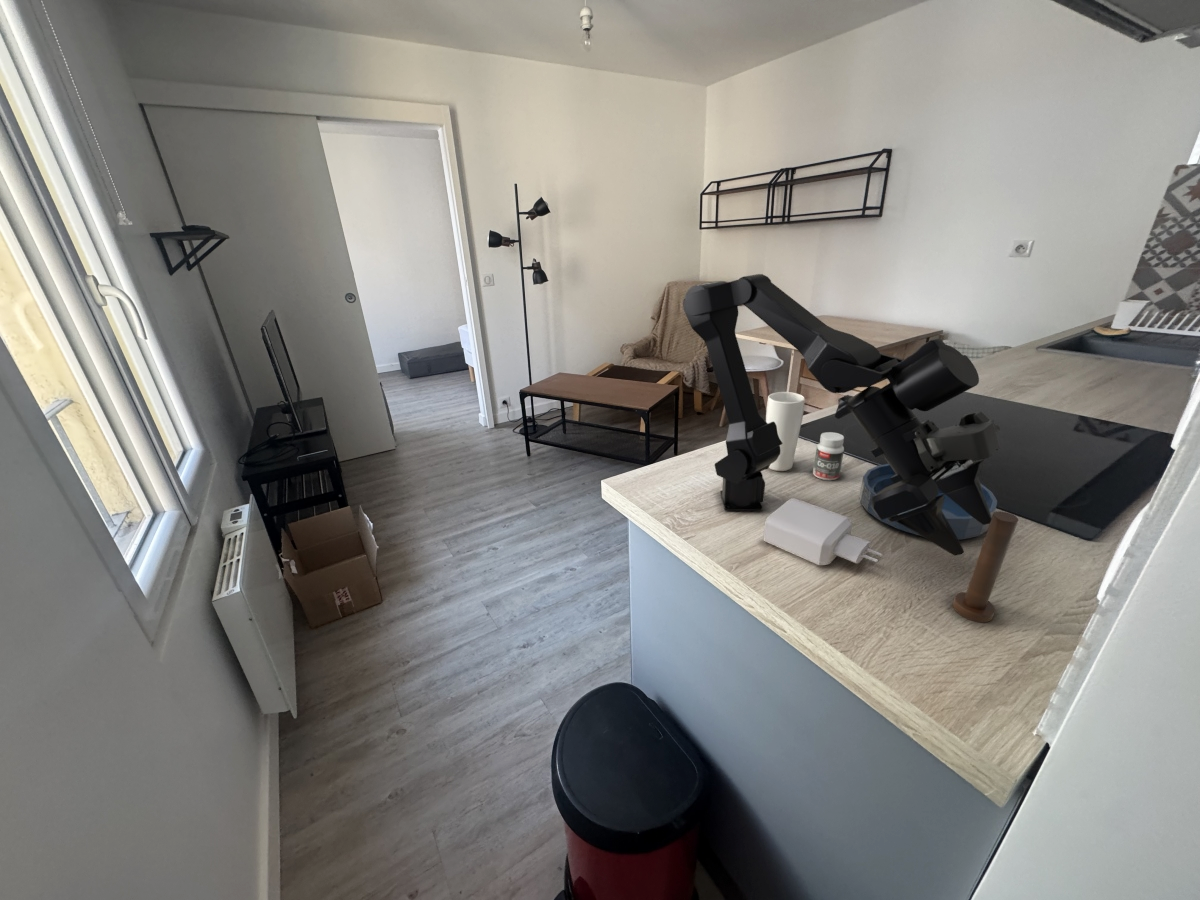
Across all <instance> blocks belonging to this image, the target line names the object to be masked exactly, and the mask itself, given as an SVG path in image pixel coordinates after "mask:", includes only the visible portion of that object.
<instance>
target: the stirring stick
mask: <svg viewBox="0 0 1200 900" xmlns="http://www.w3.org/2000/svg"><path fill="white" fill-rule="evenodd" d="M1018 522H1019V518H1018V517H1017V515H1015V514H1012V513H1010V512H1006V511H1000V510H999V511H995V512H994V513H993V516H992V519H991V522H990V525H989V528H988V530H987V531H986V534H985V537H984V539H983V543H982V544H981V549H980V552H979V554H978V557H977V560H976V563H975V566H974V569H973V572H972V574H971V577H970V581H969V583H968V586H967V589H966V591H964V592H958V593H957V594H955V596H954V598H953V602H952V607H953V609H954V610H955V612H956V613H957V614H959V615H960V616H961V617H963V618H964V619H967V620H969V621H972V622H976V623H988V622H990V621H992V619H993V617H994V615H995V613H996V608H995V606H994V604H993V603H992V602H991V601H990V598H991V594H992V592H993V589H994V587H995V584H996V581H997V579H998V576H999V573H1000V571H1001V568H1002V565H1003V562H1004V560H1005V557H1006V554H1007V551H1008V549H1009V547H1010V544H1011V541H1012V538H1013V535H1014V533H1015V531H1016V528H1017V526H1018Z"/></svg>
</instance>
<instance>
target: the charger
mask: <svg viewBox="0 0 1200 900" xmlns="http://www.w3.org/2000/svg"><path fill="white" fill-rule="evenodd" d="M853 525H854V524H853V522H852V520H851V519H850V518H849V516H846V515H844V514H840V513H838V512H834V511H831V510H829V509H826V508H824V507H821V506H818V505H815V504H812V503H809V502H807V501H803V500H800V499H798V498H795V497H791V498H789V499H788V500H787V501H786V502H784V503H783V504H782V505H781V506H779V507H778V508H776V510H774V511H773V512H771V514H770V515H768V516H767V517H766V519H765V521H764V531H763V541H764V542H765V543H767V544H769V545H772V546H774V547H777V548H778V549H781V550H783V551H786V552H788V553H790V554H793V555H794V556H797V557H799V558H801V559H804V560H806V561H808V562H811V563H813V564H815V565H817V566H826V565H830V564H831V563H832V562H833V561H834V560H835V559H836V558H837V557H840V558H841V559H845V560H847V561H849V562H851V563H854V564H860V563H861V561H862V560H863V559H866V560H869V561H871V562H873V563H878V562H879V559H877V558H875V557H872V556H870V555H867V554H868V553H870V554H872V555H875V556H878V557H880V558H881V557H882V558H883V556H884V555H883V553H882V552H879V551H876V550H873V549H871V546H872V542H871V541H869V540H866V539H864V538H861V537H858V536H855V535H854V534H852V531H853Z"/></svg>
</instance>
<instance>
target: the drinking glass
mask: <svg viewBox="0 0 1200 900" xmlns="http://www.w3.org/2000/svg"><path fill="white" fill-rule="evenodd" d="M805 399H806V398H805V396H803V395H802V394H800V393H797V392H790V391H777V392H773V393H770V394H769V395H768V396H767V400H766V401H767V402H766V409H765V421H766V422H767V423H771V422H775V424H776V426H777V433H778V436H779V439H780V440H781V442H782V444H781V445H780V455H779V456H778V458H777V460H776V461H775V462H773V463H772V464H770V466H769V468H768V469H770V470H772V471H775V472H776V471H777V472H786V471H790V470H791V469H792V468H793V466H794V460H795V454H796V449H797V445H798V440H799V436H800V432H801V429H802V424H803V418H804V411H805V402H806V401H805Z"/></svg>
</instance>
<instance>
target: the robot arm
mask: <svg viewBox="0 0 1200 900" xmlns="http://www.w3.org/2000/svg"><path fill="white" fill-rule="evenodd" d="M682 306H683V307H682V309H683V311H684V314H685V316H686V318H687V321H688V323H689V325H690V328H691V329H692V330H693V331H694V332H695V333H696V334H697V335H698V336H699V337H700V338H701V339H702V340H703V341H704V344H705V347H706V349H707V353H708V355H709V359H710V362H711V366H712V370H713V373H714V376H715V380H716V383H717V387H718V389H719V394H720V397H721V399H722V403H723V407H724V410H725V413H726V416H727V421H728V429H727V433H726V438H725V445H726V446H725V447H726V453H727V455H726V456H724V457H723V458H721V459H720V460H718V461H716V462H715V463H714V468H715V473H716V476H717V477H721V478H722V485H721V486H722V487H721V490H720V492H719V494H720V498H721V502H722V507H723V511H726V512H762V511H763V506H762V503H764V500H765V489H766V481H765V479H764V475H763V473H762V471H765V470H768V469H770V468H769V466H770V464H772V463H773V462H775V461H776V460H777V458H778V456H779V455H780V445H781V444H782V442H781V440H780V439H779V436H778V433H777V426H776V424H775V422H771V423H767V422H766V419H765V420H764V419H763V417H762V416H761V415H760V413H759V411H758V406H757V403H756V400H755V396H754V394H753V390H752V386H751V383H750V380H749V376H748V372H747V369H746V365H745V362H744V358H743V355H742V352H741V350H740V349H741V348H740V345H739V341H738V337H737V335H736V334H737V333H736V327H737V322H738V317H739V307H740V306H744V307H746V308H747V309H748V310H749V311H751V312H752V313H753V314H754V315H755V316H757V317H758V318H759V319H760V320H762V322H764V323H765V324H766V325H767V326H769V328H771V329H772V330H773V331H775V332H776V333H777V334H778V335H779V336H781V337H782V338H783V339H784V340H785V341H786V342H788V343H789V344H790V345H791V346H792V347H794V348H795V349H796V350H797V351H798V352H799V353H800V354H801V356H802V357H803V359H804V362H805V365H806V367H807V370H808V371H809V372H810V373H811V375H812V376H813V377H814V378H815V380H817V382H818V384H820V386H821V387H822V388H823V389H825V390H826V391H828V392H829V393H833V394H845V393H848V392H851V391H854V390H855V389H858V388H864V389H863V390H861V391H859V392H858V393H856V394H855V395H849V394H846V395H843V396H842V397H839V398H838V399H837V402H838V404H837V407H836V410H835V414H834V418H835V419H838V420H840V419H842V418H843V417H845V416H848V415H849V414H851V413H852V415H853V416H854V419H856V421H857V422H858V423H859V425H860V426H861V428H862V429H863V430H864V432H865V433H866V435H867V436H868V437H869V439H870V440H871V441H872V443H873V444H874V446H875V447H874V448H873V449H871V450H870V452H871V454H872V455H873V457H874V458H878V457H880V456H882V457H883V459H885V461H886V462H887V464H889V465H890V466H891V468H892V469H893V471H894V472H895V473H896V475H894V476H893V477H891V478H890V479H891V480H892V482H893V483H894V484H893V485H890V486H888V487H886V488H884V489H883V490H881V491H880V492H879V493H877V494H876V495H875V496H873V497H872V501H871V508H872V509H873V511H874V512H875V514H876V515H877V516H878V518H879V519H880V520H883V519H886V518H888V520H889V521H890V522H894V521H895V522H897V523H899V524H901V525H903V526H905V527H907V528H908V529H910V530H912V531H914V532H916V533H918V534H919V535H918V536H920V535H921V536H920V537H923V538H925V539H926V540H927V541H930V542H931V543H933V544H934V545H936V546H938V547H940V548H941V549H943V550H944V551H945V552H947V553H949V554H951V555H953V556H960V555H963V554H964V553H965V549H964V547H963V546H962V543H961V541H960V539H958V538H957V536H956V535H955V533H954V531H953V529H952V528H951V526H950V524H949V522H948V521H947V519H946V517H945V516H944V514H943V512H942V506H943V502H944V498H945V494H946V495H947V496H948V497H949V498H950V499H952V500H953V501H954V502H955V503H956V504H957V505H959V506H960V507H961V508H962V509H963V510H965V511H966V512H967V513H968V514H969V515H971V516H972V517H973V518H975V519H976V520H977V521H979V522H980V523H981V524H983V525H986V524H989V523H990V522H991V519H992V517H991V514H990V511H989V508H988V505H987V503H986V500H985V497H984V494H983V491H982V488H981V484H982V483H981V481H980V474H981V472H982V470H983V467H984V465H985V464H986V460H987V459H989V458H991V457H992V456H993V453H995V451H999V450H1000V449H1001V446H1000V442H999V440H998V439H999V438H998V435H997V434H998V433H999V432H1000V431H1001V428H1000V426H999V425H997V424H996V423H995V422H994V421H995V420H994V419H990V418H988V417H987V416H986V414H985V413H983V412H982V411H975V412H968V413H966V414H964V415H963V416H961V418H960V421H959V424H958V425H957V424H953V425H952V426H949V427H943V428H939V427H938V426H937V424H936V423H935V422H934V421H931V420H929V419H927V420H925V421H921V419H920V418H919V417H918V416H917V414H916V413H915V412H914V410H915V409H916V410H918V411H921V412H929V411H931V410H933V409H935V408H936V407H939V406H940V405H942V404H944V403H946V402H949V401H950V400H952V399H954V398H956V397H958V396H960V395H961V394H963V393H965V392H967V391H969V390H971V389H973V388H975V387H977V385H979V383H980V377H979V373H978V370H977V368H976V367H975V364H974V363H973V362H972V360H970V358H969V357H968V355H966V354H962V353H961V352H960V351H959V350H957V348H955V347H953V346H952V345H949V344H946V343H945V342H944V341H943V339H942V338H941V337H935V338H932V339H930V340H928V341H927V342H925V343H924V344H922V345H921V346H920V347H919V348H918V349H917V350H916V351H915V352H913V353H912V354H910V355H909V356H907V357H906V358H904V359H903V358H900V357H896V356H892V355H889V354H885V353H882V352H880V351H879V350H878V348H877V347H876V346H874V345H873V344H871V343H869V342H867V341H866V340H863V339H862V338H859V337H858V336H856V335H854V334H851V333H848V332H845V331H841V330H838V329H835V328H833V327H831V326H829V325H828V324H826V323H824V322H823V321H822V320H821V319H820V318H818V317H817V316H815V315H814V314H813V313H812V312H810V311H809V310H808V309H807V308H805V307H804V306H803V305H802V304H800V303H799V302H797V301H796V300H795V299H794V298H793V297H791V296H790V295H788V294H787V293H786V292H785V291H783V290H782V289H781V288H780V287H778V286H777V285H775V284H774V283H773V282H772V280H771V279H770V278H769V276H767V275H765V274H763V273H757V274H750V275H745V276H741V277H739V279H736V280H732V281H728V282H726V281H723V280H719V281H713V282H707V283H701V284H695V285H692V286H691V287H690V288H689V289H687V291H686V292H685V295H684V299H683V300H682ZM738 306H739V307H738ZM885 380H887V381H888V382H889V383H887V384H886V385H884V386H883V387H878V386H874V385H876V384H878V383H881V382H883V381H885ZM980 483H981V484H980ZM938 489H939V490H941V491H942V492H943V493H944V494H943V495H940V496H937V495H938V494H939V491H938ZM936 496H937V497H936ZM879 519H878V520H879ZM880 520H879V521H880Z"/></svg>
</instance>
